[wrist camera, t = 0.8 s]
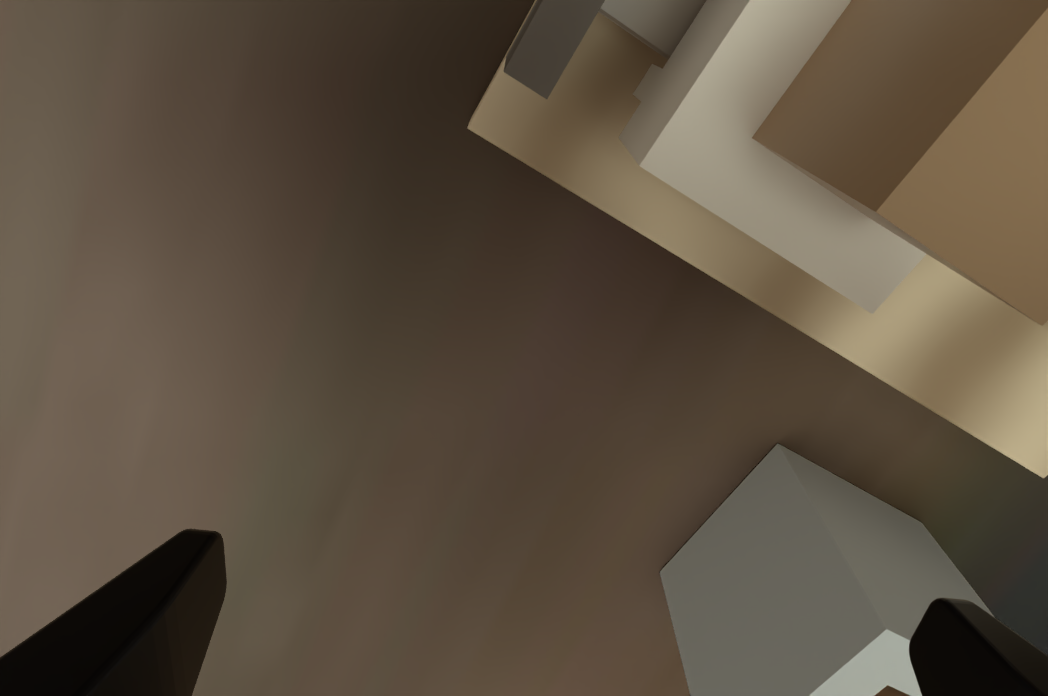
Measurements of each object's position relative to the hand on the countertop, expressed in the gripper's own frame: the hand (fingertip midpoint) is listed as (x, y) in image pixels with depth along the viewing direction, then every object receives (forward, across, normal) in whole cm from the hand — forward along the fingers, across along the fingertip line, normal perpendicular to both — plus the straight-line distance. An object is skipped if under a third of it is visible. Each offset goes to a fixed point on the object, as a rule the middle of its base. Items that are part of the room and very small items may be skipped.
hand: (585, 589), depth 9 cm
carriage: (+11, -5, -5) cm, 13 cm away
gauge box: (+14, -11, +11) cm, 21 cm away
